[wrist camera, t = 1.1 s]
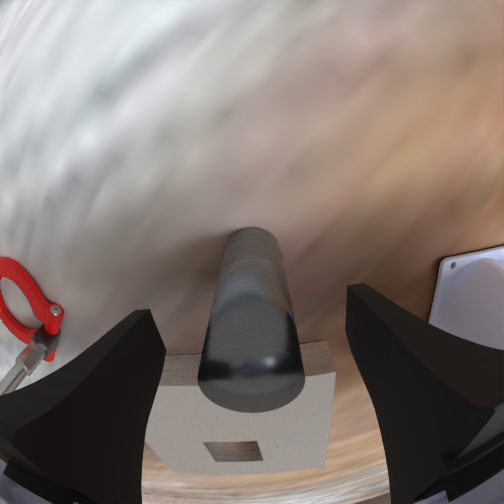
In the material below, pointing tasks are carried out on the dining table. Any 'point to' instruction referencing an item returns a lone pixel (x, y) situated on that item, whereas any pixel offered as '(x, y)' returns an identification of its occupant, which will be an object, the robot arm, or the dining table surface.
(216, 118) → the dining table surface
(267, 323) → the pin
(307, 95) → the dining table surface
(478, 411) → the robot arm
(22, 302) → the dining table surface
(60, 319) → the tow hook
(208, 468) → the bore block
